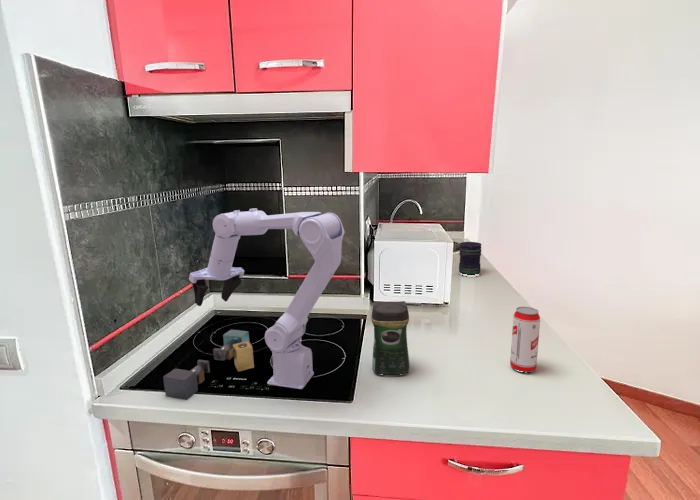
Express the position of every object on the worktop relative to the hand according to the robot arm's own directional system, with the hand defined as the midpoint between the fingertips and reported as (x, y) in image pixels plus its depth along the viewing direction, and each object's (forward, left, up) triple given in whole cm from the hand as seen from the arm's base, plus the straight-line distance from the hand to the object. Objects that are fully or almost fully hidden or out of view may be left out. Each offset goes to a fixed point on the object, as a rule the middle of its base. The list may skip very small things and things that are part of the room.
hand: (211, 301), depth 106 cm
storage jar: (-65, -105, -18) cm, 125 cm away
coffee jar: (-46, -8, -18) cm, 51 cm away
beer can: (-79, -17, -18) cm, 83 cm away
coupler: (-8, 0, -18) cm, 20 cm away
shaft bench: (0, +3, -18) cm, 18 cm away
